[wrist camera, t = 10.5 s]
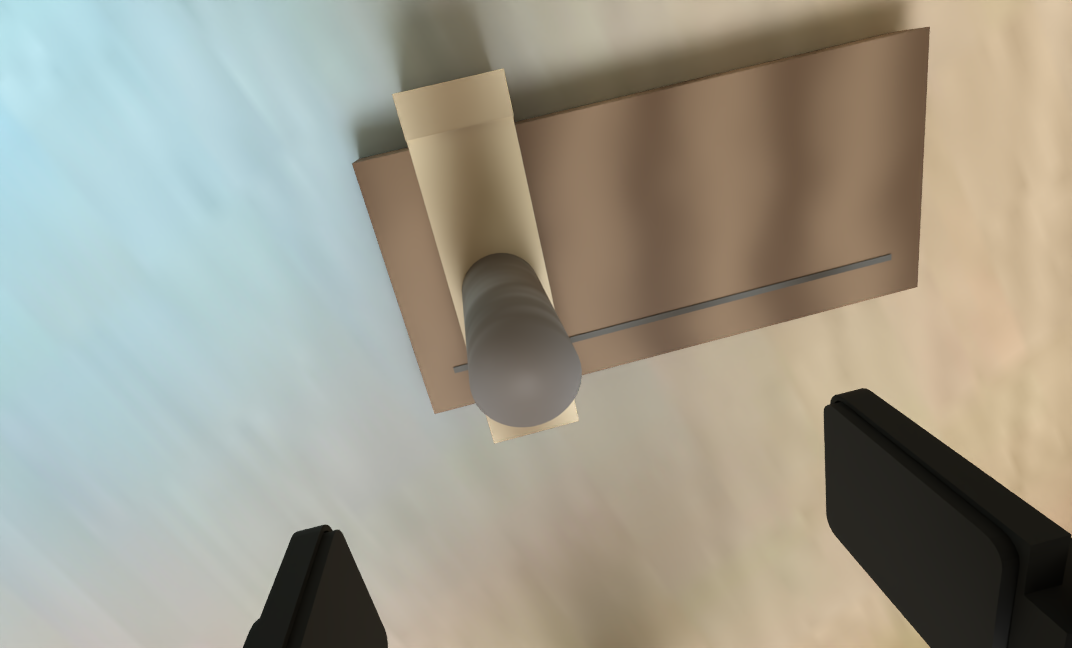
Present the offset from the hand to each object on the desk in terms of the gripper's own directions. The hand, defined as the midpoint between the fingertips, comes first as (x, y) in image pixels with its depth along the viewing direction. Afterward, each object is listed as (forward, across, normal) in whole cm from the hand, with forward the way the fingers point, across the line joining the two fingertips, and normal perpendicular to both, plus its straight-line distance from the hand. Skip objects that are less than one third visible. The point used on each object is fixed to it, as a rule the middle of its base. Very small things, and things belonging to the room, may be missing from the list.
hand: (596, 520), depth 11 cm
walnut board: (+18, -7, 0) cm, 20 cm away
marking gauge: (+18, +1, 0) cm, 18 cm away
